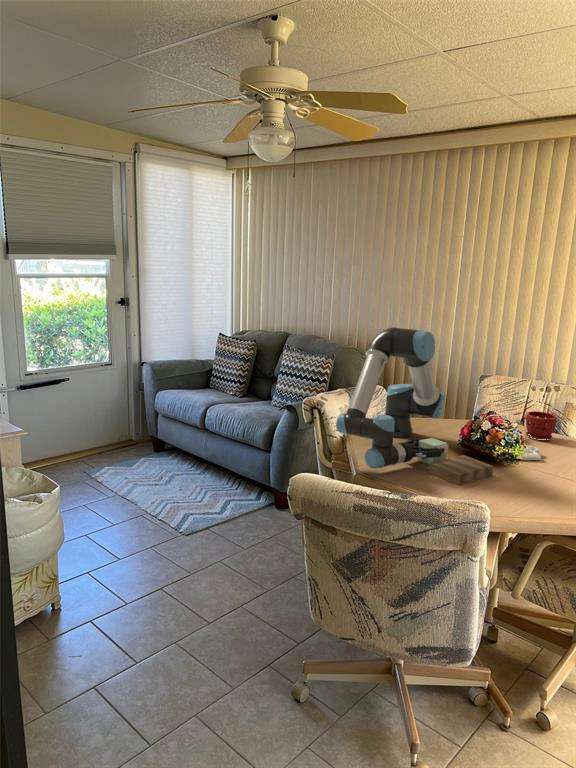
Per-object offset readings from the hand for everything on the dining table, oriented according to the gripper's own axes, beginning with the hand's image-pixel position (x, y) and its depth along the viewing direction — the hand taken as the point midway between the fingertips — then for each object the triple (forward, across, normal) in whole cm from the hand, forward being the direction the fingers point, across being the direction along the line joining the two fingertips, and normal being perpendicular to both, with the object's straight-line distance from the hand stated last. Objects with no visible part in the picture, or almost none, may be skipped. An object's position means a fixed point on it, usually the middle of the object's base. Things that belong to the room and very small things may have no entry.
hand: (438, 445), depth 231 cm
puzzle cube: (+52, -10, -6) cm, 54 cm away
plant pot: (+70, +2, -6) cm, 71 cm away
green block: (-4, 0, -6) cm, 7 cm away
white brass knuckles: (+37, +13, -7) cm, 40 cm away
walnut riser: (-6, +16, -6) cm, 18 cm away
